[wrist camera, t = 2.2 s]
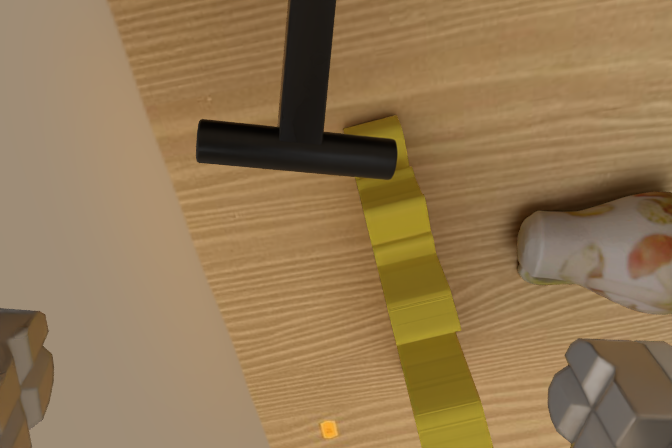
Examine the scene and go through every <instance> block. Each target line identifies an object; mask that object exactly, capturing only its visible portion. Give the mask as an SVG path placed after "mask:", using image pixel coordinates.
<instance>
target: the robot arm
mask: <svg viewBox="0 0 672 448" xmlns="http://www.w3.org/2000/svg"><path fill="white" fill-rule="evenodd" d="M47 334H48V326H47V321H46V316H45V314H44V313H42V312H40V311H30V310H15V309H3V308H0V448H32V445H31V439H30V434H29V430H30V429H31V428H32V427H34V426H35V425H36V424H38V423H39V422H40V421H42V420H43V418H44V415H45V412H46V410H47V407H48V404H49V401H50V396H51V392H52V386H53V381H54V364H53V357H52V354H51V353H50V352H49V351H48V350H47V349H46V348H45V347H44V346H43V343H44V341H45V339H46V337H47ZM565 357H566V360H567V363H568V366H566V367H565V368H563V369H562V370H560V371H559V372H557V373H556V374H555V375H554V377H553V380H552V382H551V384H550V386H549V388H548V409H549V413H550V417H551V420H552V422H553V424H554V426H555V429H556V431H557V432H558V433H559V434H561V435H562V436H563V437H564V438H565V439H567V440H568V441H569V442H570V443H571V447H570V448H672V346H671V345H669V344H668V343H666V342H663V341H629V340H605V339H581V338H578V339H577V340H576V341H574V342H573V343H572V344H571V345H570V346H569V348H568V350H567V352H566V354H565Z"/></svg>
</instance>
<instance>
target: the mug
mask: <svg viewBox="0 0 672 448" xmlns="http://www.w3.org/2000/svg"><path fill="white" fill-rule="evenodd" d="M517 257H518V260H519V263H520V264H519V266H518V273H519V275H520V276H521V277H522V279H523V280H525V281H527V282H529V283H532V284H535V285H560V284H578V285H580V286H582V287H585V288H587V289H589V290H591V291H593V292H595V293H597V294H599V295H601V296H603V297H605V298H607V299H609V300H611V301H613V302H615V303H618V304H620V305H622V306H625V307H627V308H629V309H632V310H635V311H639V312H643V313H648V314H662V315H666V314H672V193H670V192H647V193H640V194H635V195H631V196H627V197H623V198H620V199H617V200H614V201H611V202H608V203H605V204H602V205H598V206H595V207H592V208H588V209H584V210H580V211H571V212H554V211H536V212H534V213H533V214H532V215H531V216H529V217H527V218H526V219H525V220H524V221H523V223H522V225H521V228H520V230H519V234H518V240H517Z"/></svg>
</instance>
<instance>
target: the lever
mask: <svg viewBox="0 0 672 448" xmlns="http://www.w3.org/2000/svg"><path fill="white" fill-rule="evenodd" d="M335 7H336V0H288V9H287V20H286V32H285V44H284V56H283V67H282V79H281V91H280V103H279V115H278V126H277V127H273V126H263V125H254V124H244V123H234V122H225V121H215V120H205V119H201V120H200V121H199V124H198V131H197V143H196V159H197V162H199V163H208V164H219V165H230V166H241V167H252V168H262V169H273V170H284V171H295V172H306V173H317V174H328V175H339V176H350V177H361V178H372V179H383V180H390V179H392V177H393V175H394V173H395V169H396V165H397V154H398V152H397V144H396V141H395V140H394V139H389V138H379V137H370V136H360V135H350V134H341V133H331V132H324V121H325V111H326V101H327V90H328V80H329V69H330V59H331V49H332V38H333V28H334V17H335Z"/></svg>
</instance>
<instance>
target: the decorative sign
mask: <svg viewBox="0 0 672 448" xmlns="http://www.w3.org/2000/svg"><path fill="white" fill-rule="evenodd" d="M343 130H344V134H350V135H360V136H370V137H379V138H389V139H394V140H395V141H396V144H397V152H398V154H397V165H396V169H395V173H394V175H393V177H392V179H390V180H383V179H372V178H361V177H355V179H356V183H357V187H358V191H359V195H360V199H361V203H362V207H363V211H364V215H365V219H366V224H367V228H368V232H369V236H370V240H371V244H372V248H373V252H374V256H375V260H376V264H377V268H378V272H379V276H380V280H381V284H382V288H383V292H384V296H385V301H386V305H387V309H388V313H389V317H390V321H391V325H392V329H393V333H394V337H395V341H396V345H397V349H398V353H399V357H400V361H401V365H402V369H403V373H404V377H405V382H406V386H407V390H408V394H409V398H410V402H411V406H412V410H413V414H414V418H415V422H416V426H417V430H418V434H419V438H420V442H421V446H422V448H493V445H492V441H491V437H490V433H489V430H488V426H487V422H486V418H485V415H484V411H483V407H482V404H481V400H480V397H479V395H478V392H477V389H476V386H475V384H474V381H473V378H472V376H471V373H470V370H469V368H468V365H467V362H466V359H465V357H464V354H463V351H462V349H461V346H460V343H459V341H458V338H457V335H456V332H457V331H461V326H460V322H459V319H458V315H457V312H456V308H455V305H454V301H453V298H452V294H451V291H450V288H449V285H448V282H447V280H446V277H445V275H444V272H443V270H442V267H441V265H440V262H439V260H438V257H437V255H436V251H435V245H434V239H433V236H432V233H431V228H430V222H429V216H428V210H427V205H426V200H425V197H424V194H422V193H421V190H420V188H419V186H418V183H417V181H416V179H415V176H414V172H413V168H412V166H411V167H409V161H408V156H407V150H406V145H405V139H404V135H403V131H402V127H401V124H400V122H399V120H398V117H397V115H395V116H391V117H387V118H383V119H379V120H375V121H372V122H368V123H364V124H360V125H356V126H352V127H348V128H344V129H343Z"/></svg>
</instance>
